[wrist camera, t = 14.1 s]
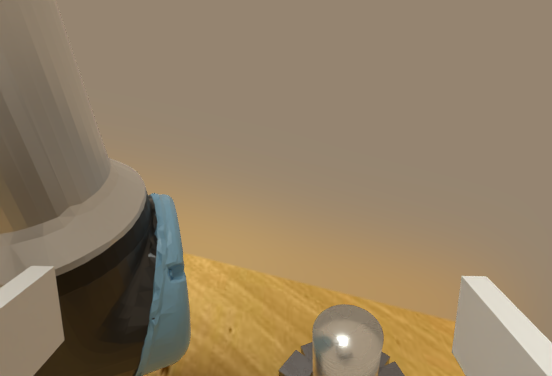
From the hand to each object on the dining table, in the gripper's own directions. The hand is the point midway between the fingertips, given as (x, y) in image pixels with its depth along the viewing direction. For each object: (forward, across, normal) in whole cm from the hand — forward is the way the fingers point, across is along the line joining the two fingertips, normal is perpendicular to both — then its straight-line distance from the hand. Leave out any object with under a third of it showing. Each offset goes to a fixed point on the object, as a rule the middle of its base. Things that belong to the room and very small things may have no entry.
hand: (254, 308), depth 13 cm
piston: (+19, +6, -22) cm, 29 cm away
